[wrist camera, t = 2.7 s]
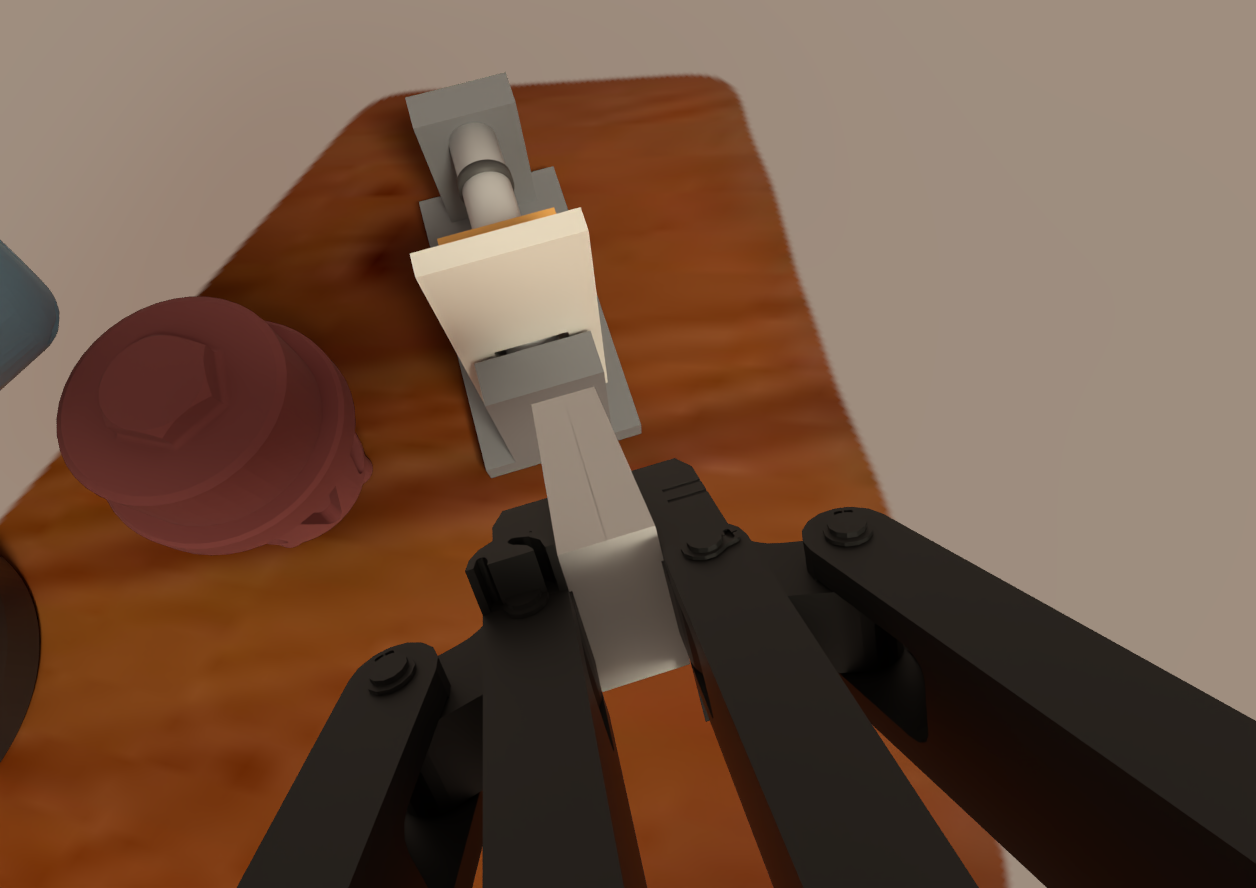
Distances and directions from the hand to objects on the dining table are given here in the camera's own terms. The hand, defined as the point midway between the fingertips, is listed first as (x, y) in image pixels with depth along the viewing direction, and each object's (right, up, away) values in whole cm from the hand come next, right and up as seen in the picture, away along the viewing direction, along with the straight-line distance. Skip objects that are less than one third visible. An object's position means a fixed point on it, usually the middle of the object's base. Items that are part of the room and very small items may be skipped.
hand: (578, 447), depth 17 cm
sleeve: (-3, +4, +19) cm, 20 cm away
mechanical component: (-15, -2, +20) cm, 25 cm away
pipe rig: (-4, +7, +23) cm, 24 cm away
